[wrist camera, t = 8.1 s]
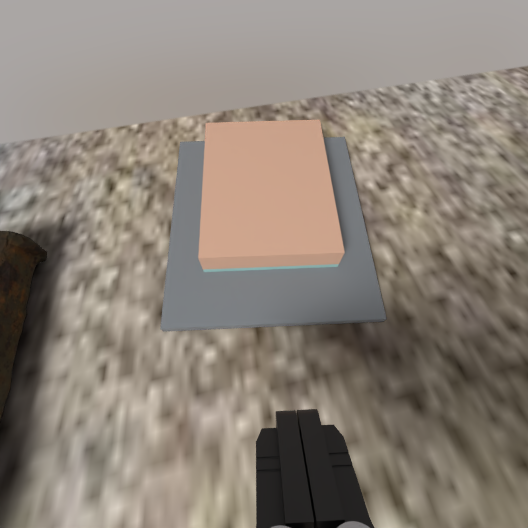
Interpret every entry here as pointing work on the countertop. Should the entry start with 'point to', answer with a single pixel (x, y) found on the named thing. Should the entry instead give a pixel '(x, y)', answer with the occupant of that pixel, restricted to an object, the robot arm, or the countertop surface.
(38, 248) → the hand tool
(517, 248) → the countertop surface
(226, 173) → the tile
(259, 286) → the mat
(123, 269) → the countertop surface
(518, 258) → the countertop surface
